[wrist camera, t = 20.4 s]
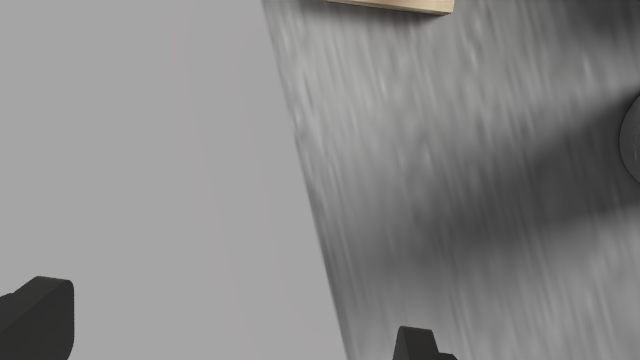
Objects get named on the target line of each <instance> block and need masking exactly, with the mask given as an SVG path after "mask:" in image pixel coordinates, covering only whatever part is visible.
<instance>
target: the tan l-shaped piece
mask: <svg viewBox="0 0 640 360" xmlns="http://www.w3.org/2000/svg"><path fill="white" fill-rule="evenodd" d="M326 1H330V2H338V3H346V4H354V5H362V6H370V7H378V8H386V9H394V10H402V11H410V12H418V13H426V14H434V15H442V16H444V15H447V14H450V13H452V12H453V6H454V1H455V0H326Z"/></svg>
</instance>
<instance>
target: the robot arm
mask: <svg viewBox="0 0 640 360" xmlns="http://www.w3.org/2000/svg"><path fill="white" fill-rule="evenodd" d="M619 143H620V153H621V156H622V160H623V163H624V165H625V166H626V168H627V170H628V171H629V173H630V174H631V175H632V176H633V177H634V178H635V179H636V180H637V181H639V182H640V96H639V97H638V98H637V99H636V100H635V101H634V102H633V104H632V106H631V107H630V109H629V110H628V112H627V113H626V116H625V118H624V121H623V123H622V126H621V132H620V137H619ZM73 343H74V287H73V284H72V282H71V281H70V280H64V279H57V278H50V277H42V276H37V277H35V278H33V279H32V280H30V281H29V282H27V283H26V284H25V285H23V286H22V287H21V288H19V289H18V290H16V291H15V292H14V293H9V294H6V295H4V296H1V297H0V360H67V359H68V357H69V355H70V353H71V350H72V347H73ZM393 360H457V359H456V357H455V356H454V355H453V354H447V353H439V351H438V348H437V345H436V342H435V338H434V335H433V332H432V330H428V329H421V328H413V327H406V326H400V328H399V330H398V334H397V340H396V345H395V350H394V356H393Z"/></svg>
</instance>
